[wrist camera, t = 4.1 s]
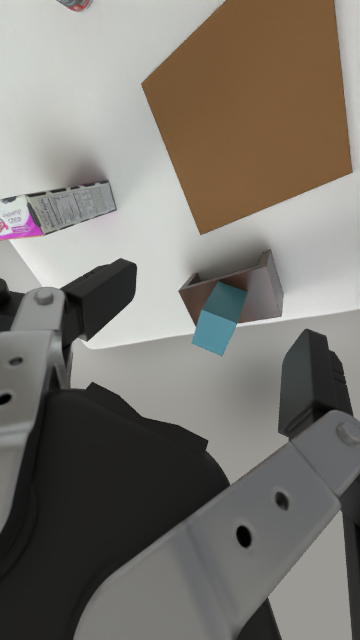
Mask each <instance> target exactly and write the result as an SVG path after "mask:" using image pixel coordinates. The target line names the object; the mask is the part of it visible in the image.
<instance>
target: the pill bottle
mask: <svg viewBox="0 0 360 640" xmlns="http://www.w3.org/2000/svg"><path fill="white" fill-rule="evenodd" d="M57 1H58V2H60V3H61V4H63V5H64V6H66V7H67V8H69V9H71V10H73V11H75V12H82V11H84V10H85V9H87V8H88V6H89V5H90V3H91V1H92V0H57Z"/></svg>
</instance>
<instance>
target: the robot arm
mask: <svg viewBox="0 0 360 640" xmlns="http://www.w3.org/2000/svg"><path fill="white" fill-rule="evenodd" d="M136 275H137V266H136V264H135V263H133V262H130V261H127V260H125V259H122V258H120V259H118V260H116V261H115V262H113V263H111V264H110V265H109V264H107V265H103V266H99V267H96V268H95V269H93V270H91V271H90V272H88V273H86V274H84V275H83V277H82V276H81V277H79V278H77V279H76V280H74V281H72V282H71V283H69V284H67V285H65V286H64V287H62V288H60V289H57V288H53V287H40V288H36V289H33V290H31V291H29V292H27V293H26V294H24V293H17V292H12V291H9V289H8V286H7V284H6V282H5V281H4V280H3V279H1V278H0V640H282V639H281V636H280V633H279V630H278V627H277V624H276V621H275V617H274V614H273V611H272V608H271V605H270V602H269V599H268V596H269V595H270V593H271V592H272V591H273V590H274V588H275V587H276V586H277V585H278V584H279V583H280V581H281V580H282V579H283V578H284V576H285V575H286V574H287V573H288V572H289V571H290V569H291V568H292V567H293V566H294V565H295V563H296V562H297V561H298V560H299V559H300V557H301V556H302V555H303V554H304V552H306V550H307V549H308V548H309V547H310V545H311V544H312V543H313V542H314V541H315V540H316V538H317V537H318V536H319V534H321V532H322V531H323V530H324V529H325V528H326V526H327V525H328V524H329V523H330V522H331V520H332V519H333V518H334V517H335V515H336V514H337V513H338V512H339V511H340V510H341V511H342V514H343V527H344V538H345V552H346V565H347V578H348V590H349V602H350V615H351V627H352V628H351V629H352V640H360V422H359V421H358V420H357V419H355V418H354V416H353V412H352V407H351V403H350V398H349V394H348V389H347V385H345V384H346V380H345V376H343V375H344V371H343V366H342V363H341V361H340V360H339V359H338V357H337V355H336V354H335V352H333V351H330V350H329V348H328V342H327V337H326V336H325V335H323V334H319V333H317V332H314V331H312V330H309V329H305V330H304V331H303V332H302V333H301V334H300V336H299V337H298V339H297V340H296V341H295V343H294V344H293V346H292V347H291V348H290V349H289V351H288V352H287V354H286V356H285V358H284V361H283V364H282V377H281V393H280V410H279V425H278V433H280V434H282V435H285V436H287V437H289V442H287V443H286V444H285V445H283V446H282V447H281V448H279V449H278V450H277V451H275V452H274V453H273V454H271V455H270V456H269V457H267V458H266V459H265V460H264V461H262V462H261V463H259V464H258V465H257V466H255V467H254V468H253V469H251V470H250V471H249V472H248V473H246V474H245V475H244V476H242V477H241V478H240V479H238V480H237V481H236V482H234V483H233V484H232V485H230V483H229V481H228V479H227V477H226V475H225V473H224V472H223V470H222V468H221V467H220V466H219V464H218V463H217V462H216V461H215V459H214V458H213V457H212V456H211V455H210V454H209V453H208V452H207V451H206V447H207V444H208V440H206V439H204V438H202V437H200V436H198V435H196V434H194V433H192V432H190V431H188V430H186V429H184V428H183V427H181V426H178V425H175V424H171V423H166V422H161V421H157V420H152V419H148V418H144V417H142V416H141V415H139V414H138V413H137V412H136V411H135V410H134V409H133V408H132V407H131V406H130V405H129V404H128V403H127V402H126V401H124V400H123V399H122V398H121V397H120V396H119V395H117V394H115V393H113V392H111V391H109V390H107V389H106V388H104V387H101V386H99V385H97V384H95V383H94V382H92V383H91V384H90V385H89V386H88V387H87V388H86V390H85V389H75V388H74V389H71V388H70V377H71V368H72V359H73V348H74V343H73V341H74V340H75V339H76V338H77V337H78V338H80V339H83V340H85V341H87V342H88V341H89V340H90V339H91V338H92V337H93V336H94V335H95V334H96V333H97V332H99V331H100V330H101V329H102V328H103V327H104V326H105V325H106V324H107V323H108V322H109V321H111V320H112V319H113V318H114V317H115V316H116V315H117V314H118V313H119V312H120V311H122V310H123V309H124V308H125V307H126V306H127V305H128V304H129V303H130V302H131V301H132V300H133V298H134V295H135V291H136Z"/></svg>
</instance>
